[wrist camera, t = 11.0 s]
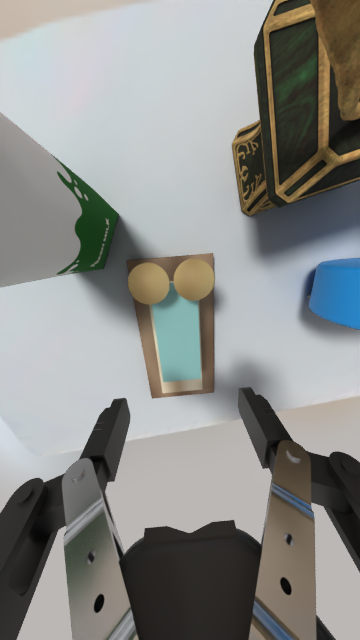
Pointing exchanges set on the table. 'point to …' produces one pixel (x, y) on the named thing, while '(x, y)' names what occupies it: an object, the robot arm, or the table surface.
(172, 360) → the teal rectangular prism
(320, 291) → the alarm clock
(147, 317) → the board
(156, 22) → the table surface
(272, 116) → the decorative box
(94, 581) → the robot arm
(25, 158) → the milk carton
